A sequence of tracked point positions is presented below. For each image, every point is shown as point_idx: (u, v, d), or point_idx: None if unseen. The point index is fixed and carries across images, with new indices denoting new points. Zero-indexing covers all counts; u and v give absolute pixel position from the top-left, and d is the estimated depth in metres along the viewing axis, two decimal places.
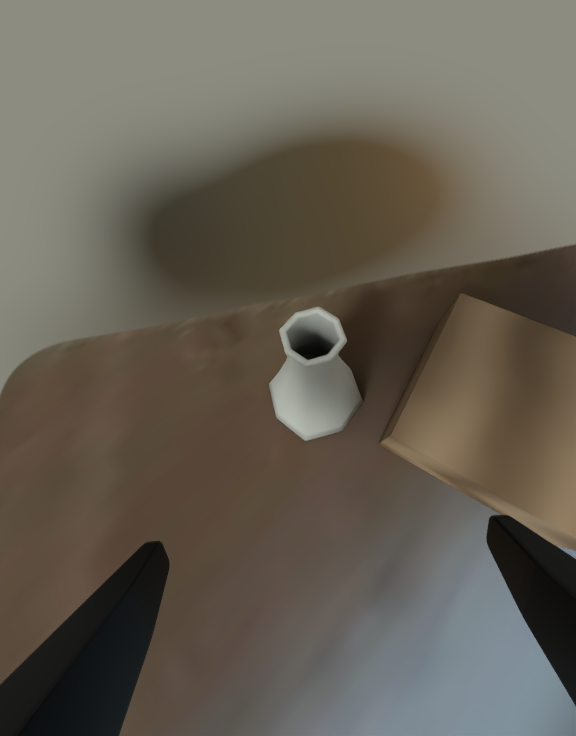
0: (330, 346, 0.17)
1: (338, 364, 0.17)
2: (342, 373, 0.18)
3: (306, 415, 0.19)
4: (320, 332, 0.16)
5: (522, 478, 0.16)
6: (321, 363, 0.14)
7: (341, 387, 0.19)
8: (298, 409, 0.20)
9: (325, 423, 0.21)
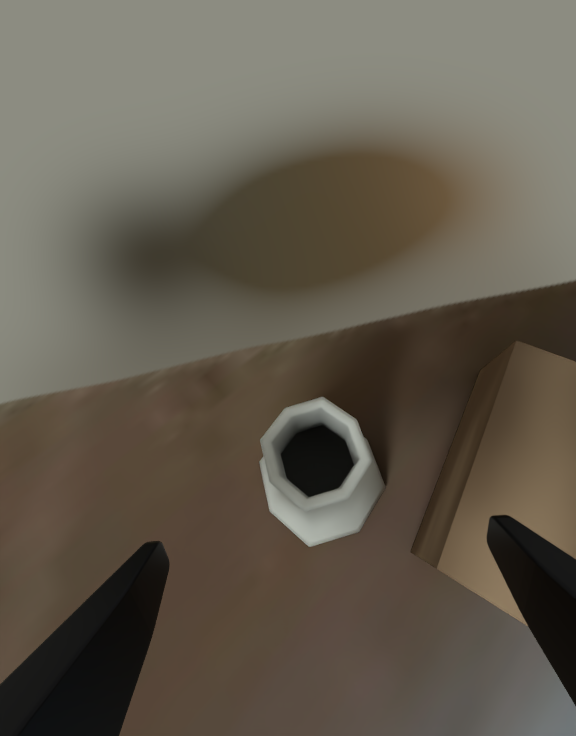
0: (341, 437, 0.12)
1: None
2: None
3: (309, 526, 0.14)
4: (326, 424, 0.11)
5: None
6: (331, 504, 0.08)
7: (359, 490, 0.13)
8: (298, 516, 0.14)
9: (336, 529, 0.15)
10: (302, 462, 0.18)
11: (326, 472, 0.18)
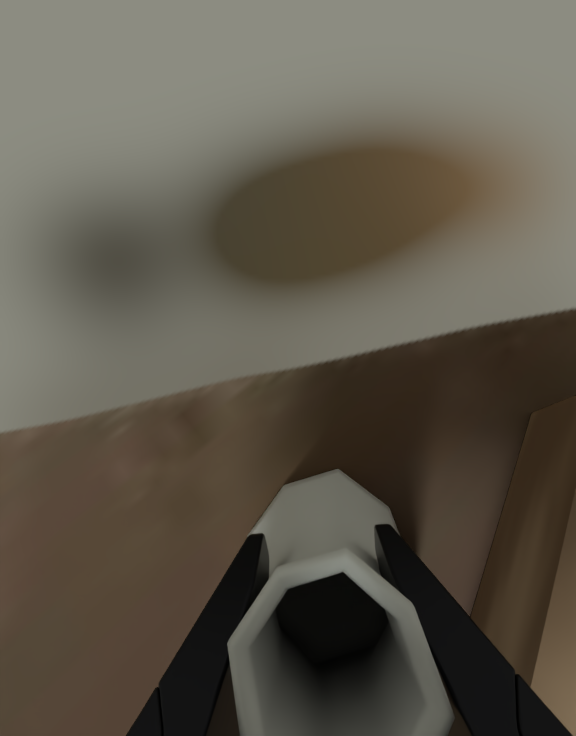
0: None
1: (394, 634, 0.07)
2: None
3: None
4: None
5: None
6: None
7: None
8: None
9: (353, 654, 0.10)
10: None
11: None
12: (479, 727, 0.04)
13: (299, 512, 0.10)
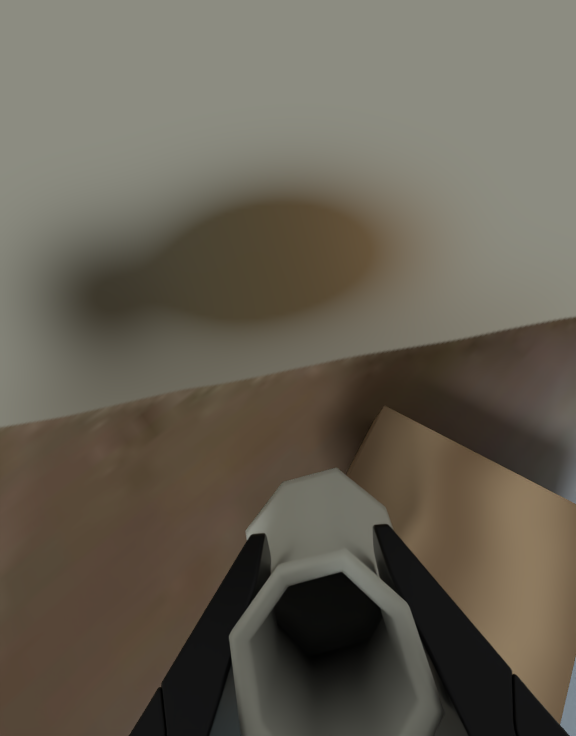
0: None
1: (388, 632, 0.07)
2: None
3: None
4: None
5: None
6: None
7: None
8: None
9: (345, 648, 0.11)
10: None
11: None
12: (476, 727, 0.04)
13: (298, 510, 0.11)
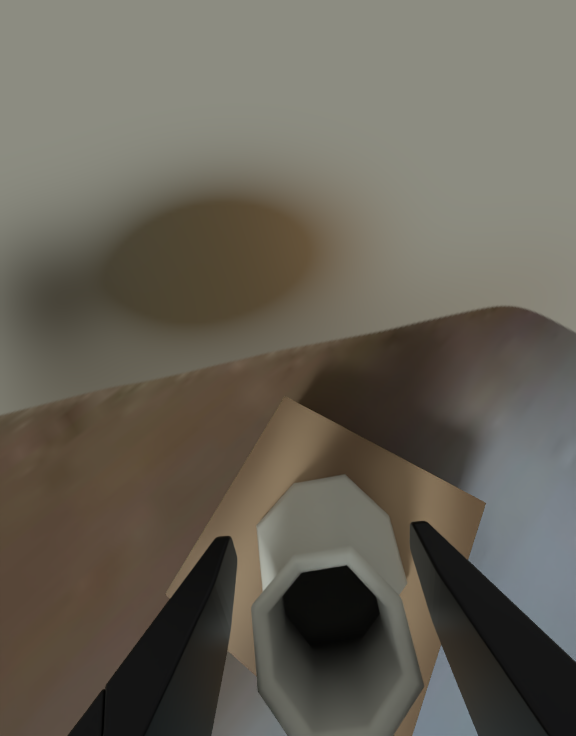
0: (365, 560, 0.09)
1: None
2: None
3: None
4: None
5: None
6: None
7: None
8: None
9: (342, 641, 0.12)
10: None
11: None
12: (554, 725, 0.04)
13: (307, 510, 0.12)
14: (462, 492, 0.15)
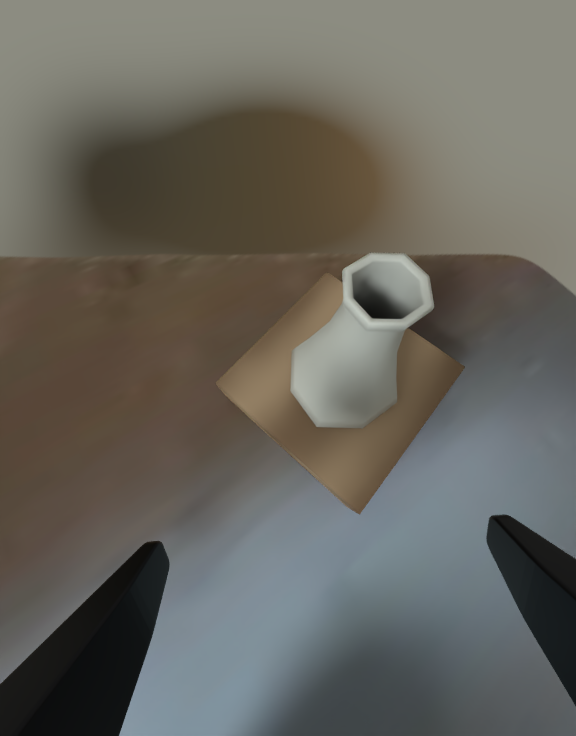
0: (392, 318, 0.13)
1: (398, 343, 0.12)
2: (395, 357, 0.14)
3: (330, 396, 0.16)
4: (388, 294, 0.12)
5: (311, 437, 0.18)
6: (390, 328, 0.10)
7: (386, 375, 0.15)
8: (323, 387, 0.16)
9: (348, 413, 0.17)
10: None
11: None
12: None
13: None
14: (449, 357, 0.20)
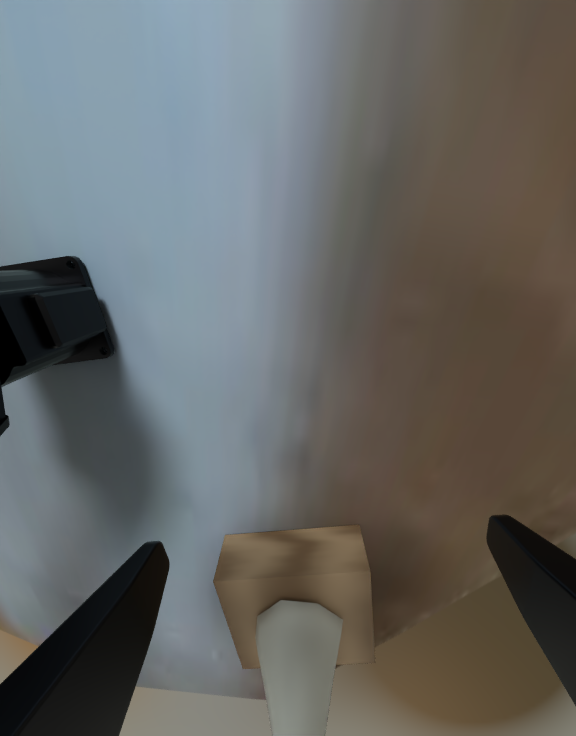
0: None
1: None
2: None
3: (286, 660, 0.20)
4: None
5: (278, 590, 0.22)
6: None
7: (268, 706, 0.20)
8: (295, 661, 0.20)
9: (270, 638, 0.21)
10: None
11: None
12: None
13: None
14: (254, 667, 0.26)
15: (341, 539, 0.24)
